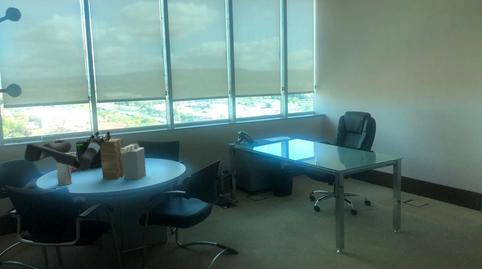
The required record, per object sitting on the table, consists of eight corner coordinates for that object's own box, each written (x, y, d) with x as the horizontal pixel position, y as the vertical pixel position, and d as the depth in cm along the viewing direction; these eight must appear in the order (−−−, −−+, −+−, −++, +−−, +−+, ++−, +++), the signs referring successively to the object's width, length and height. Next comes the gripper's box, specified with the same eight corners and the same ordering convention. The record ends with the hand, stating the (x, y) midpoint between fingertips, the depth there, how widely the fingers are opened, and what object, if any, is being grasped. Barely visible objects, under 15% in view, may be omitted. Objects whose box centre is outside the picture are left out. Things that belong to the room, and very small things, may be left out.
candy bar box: (76, 169, 336) (74, 151, 333) (78, 170, 332) (76, 152, 329) (63, 172, 329) (61, 153, 326) (64, 173, 325) (62, 154, 322)
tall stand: (116, 179, 298) (113, 141, 294) (102, 179, 301) (99, 141, 296) (125, 174, 312) (122, 138, 308) (111, 174, 314) (108, 138, 310)
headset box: (78, 169, 338) (75, 140, 334) (81, 166, 350) (78, 138, 346) (104, 167, 342) (102, 138, 339) (106, 164, 354) (104, 136, 350)
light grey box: (138, 179, 295) (136, 150, 292) (124, 179, 297) (121, 150, 294) (145, 174, 309) (143, 147, 306) (132, 174, 311) (129, 147, 308)
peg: (125, 153, 283) (125, 148, 282) (119, 153, 284) (119, 148, 283) (138, 148, 304) (138, 143, 304) (132, 148, 305) (132, 143, 305)
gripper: (102, 142, 263) (111, 128, 275) (83, 142, 265) (92, 128, 278) (105, 150, 268) (114, 136, 280) (87, 150, 270) (96, 136, 282)
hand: (103, 132), depth 279 cm, fingers open, 8 cm apart
